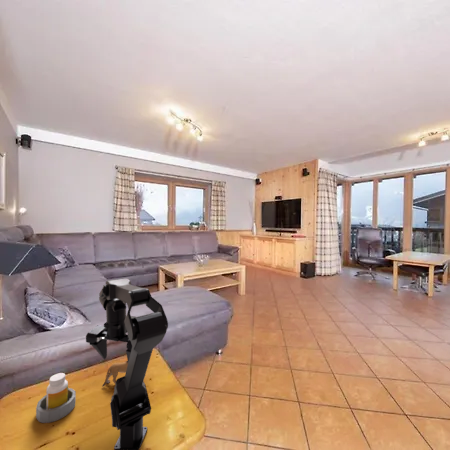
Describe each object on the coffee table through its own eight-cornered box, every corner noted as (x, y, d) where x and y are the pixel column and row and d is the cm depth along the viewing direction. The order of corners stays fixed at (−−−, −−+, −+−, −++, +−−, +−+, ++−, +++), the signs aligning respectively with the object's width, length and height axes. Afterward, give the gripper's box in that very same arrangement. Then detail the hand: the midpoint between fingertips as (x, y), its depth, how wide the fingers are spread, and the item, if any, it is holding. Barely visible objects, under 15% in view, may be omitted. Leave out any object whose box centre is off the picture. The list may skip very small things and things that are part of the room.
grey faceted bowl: (60, 423, 67) (61, 412, 67) (28, 422, 67) (28, 411, 67) (81, 398, 77) (82, 388, 77) (53, 397, 77) (53, 387, 77)
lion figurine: (140, 367, 93) (140, 345, 93) (146, 374, 89) (146, 350, 89) (99, 384, 83) (100, 359, 83) (104, 392, 79) (104, 366, 79)
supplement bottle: (71, 406, 73) (71, 375, 73) (51, 418, 68) (51, 385, 68) (62, 399, 75) (63, 369, 75) (42, 410, 71) (43, 378, 71)
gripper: (155, 308, 81) (155, 349, 83) (107, 301, 84) (108, 340, 87) (138, 327, 70) (138, 373, 73) (83, 318, 73) (85, 362, 76)
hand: (117, 360), depth 77 cm, fingers open, 9 cm apart
